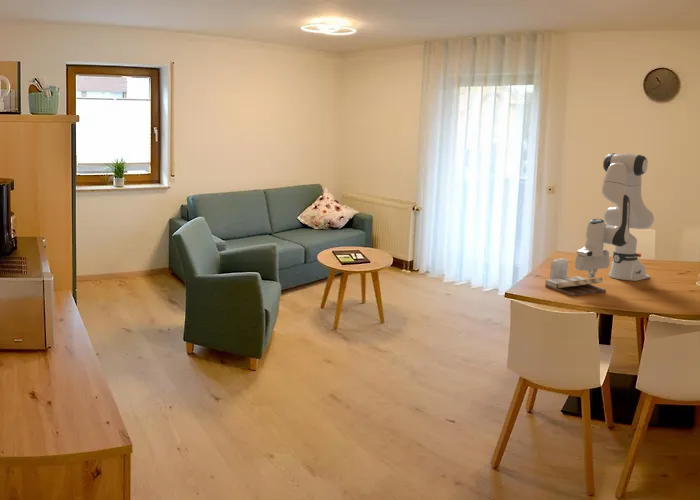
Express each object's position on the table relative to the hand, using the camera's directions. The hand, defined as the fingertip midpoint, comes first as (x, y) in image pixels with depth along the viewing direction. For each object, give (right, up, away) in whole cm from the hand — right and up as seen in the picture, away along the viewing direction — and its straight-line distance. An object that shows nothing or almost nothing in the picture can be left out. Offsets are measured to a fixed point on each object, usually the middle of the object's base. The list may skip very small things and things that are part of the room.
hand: (591, 277), depth 353 cm
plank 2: (-1, -3, +2) cm, 4 cm away
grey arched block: (-11, -3, +20) cm, 23 cm away
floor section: (-7, -6, +4) cm, 10 cm away
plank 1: (-11, -4, -2) cm, 12 cm away
